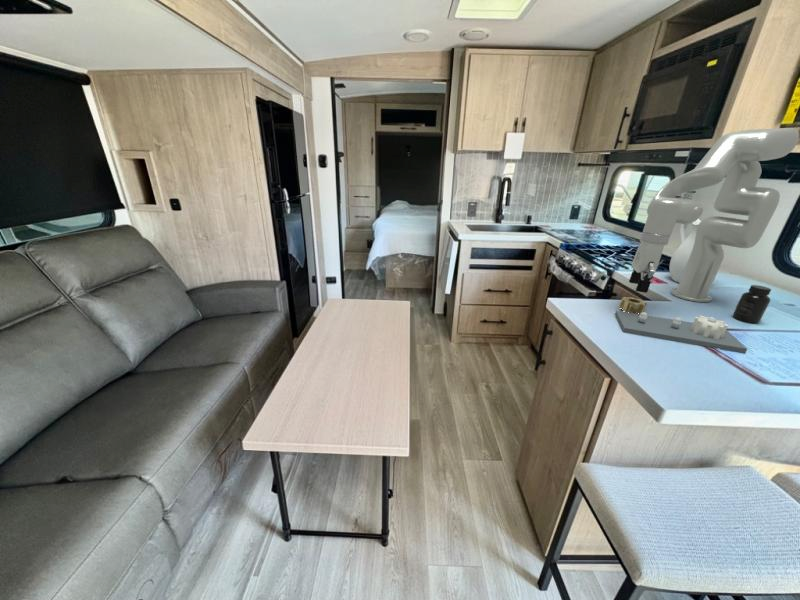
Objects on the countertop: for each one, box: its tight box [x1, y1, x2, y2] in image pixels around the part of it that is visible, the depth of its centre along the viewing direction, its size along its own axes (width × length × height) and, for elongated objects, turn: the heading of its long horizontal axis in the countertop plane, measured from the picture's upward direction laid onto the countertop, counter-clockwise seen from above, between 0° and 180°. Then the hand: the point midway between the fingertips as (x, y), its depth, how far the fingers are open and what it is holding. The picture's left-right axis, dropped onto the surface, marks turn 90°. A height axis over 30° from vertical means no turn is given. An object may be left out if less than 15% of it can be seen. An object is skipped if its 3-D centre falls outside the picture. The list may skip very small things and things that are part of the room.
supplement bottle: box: [732, 284, 772, 324], centre depth 111 cm, size 7×7×12 cm
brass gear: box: [618, 296, 647, 314], centre depth 117 cm, size 8×8×4 cm
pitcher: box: [669, 218, 723, 284], centre depth 146 cm, size 24×17×28 cm
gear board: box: [614, 310, 748, 354], centre depth 103 cm, size 14×30×6 cm, turn 68°
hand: (637, 287), depth 114 cm, fingers open, 9 cm apart
